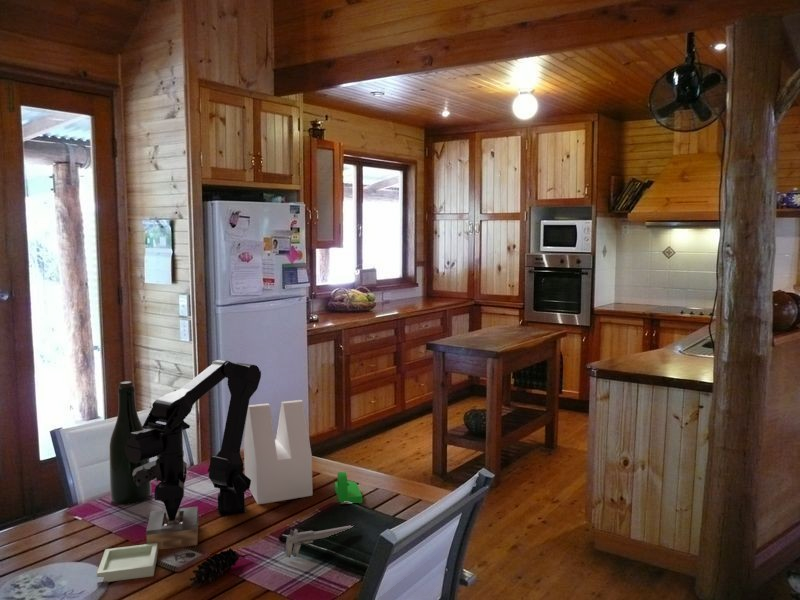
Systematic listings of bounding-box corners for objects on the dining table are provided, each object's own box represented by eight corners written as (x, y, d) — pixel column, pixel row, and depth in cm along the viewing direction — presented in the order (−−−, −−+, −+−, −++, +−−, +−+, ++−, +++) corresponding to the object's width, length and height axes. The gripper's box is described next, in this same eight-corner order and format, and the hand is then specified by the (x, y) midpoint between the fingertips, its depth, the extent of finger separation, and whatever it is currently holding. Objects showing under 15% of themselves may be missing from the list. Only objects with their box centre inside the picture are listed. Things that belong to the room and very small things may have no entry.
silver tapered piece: (188, 533, 158) (186, 494, 157) (187, 539, 155) (186, 498, 154) (160, 537, 156) (158, 497, 155) (159, 542, 153) (157, 502, 152)
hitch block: (198, 525, 162) (197, 506, 162) (197, 545, 152) (196, 524, 151) (151, 531, 159) (151, 511, 159) (147, 551, 149) (146, 530, 148)
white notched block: (244, 480, 193) (242, 398, 191) (295, 473, 199) (293, 393, 197) (257, 504, 176) (255, 414, 173) (312, 495, 182) (310, 408, 179)
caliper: (288, 560, 144) (288, 533, 143) (285, 558, 145) (285, 531, 144) (358, 530, 158) (358, 505, 157) (355, 528, 159) (355, 504, 158)
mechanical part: (362, 503, 176) (361, 474, 176) (340, 505, 175) (339, 476, 174) (355, 486, 188) (355, 460, 187) (334, 488, 187) (334, 461, 186)
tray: (158, 553, 148) (157, 542, 148) (153, 577, 138) (153, 565, 137) (106, 559, 145) (105, 549, 145) (97, 584, 135) (96, 573, 134)
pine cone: (199, 568, 130) (180, 568, 132) (204, 593, 130) (184, 592, 132) (253, 534, 146) (235, 534, 148) (257, 556, 146) (239, 556, 148)
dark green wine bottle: (152, 489, 187) (147, 376, 184) (150, 503, 177) (145, 384, 174) (112, 493, 183) (107, 379, 180) (108, 508, 173) (102, 387, 170)
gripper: (138, 441, 160) (141, 502, 162) (128, 467, 143) (132, 535, 144) (185, 438, 163) (188, 497, 165) (182, 462, 146) (184, 528, 147)
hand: (173, 513), depth 155 cm, fingers open, 7 cm apart
